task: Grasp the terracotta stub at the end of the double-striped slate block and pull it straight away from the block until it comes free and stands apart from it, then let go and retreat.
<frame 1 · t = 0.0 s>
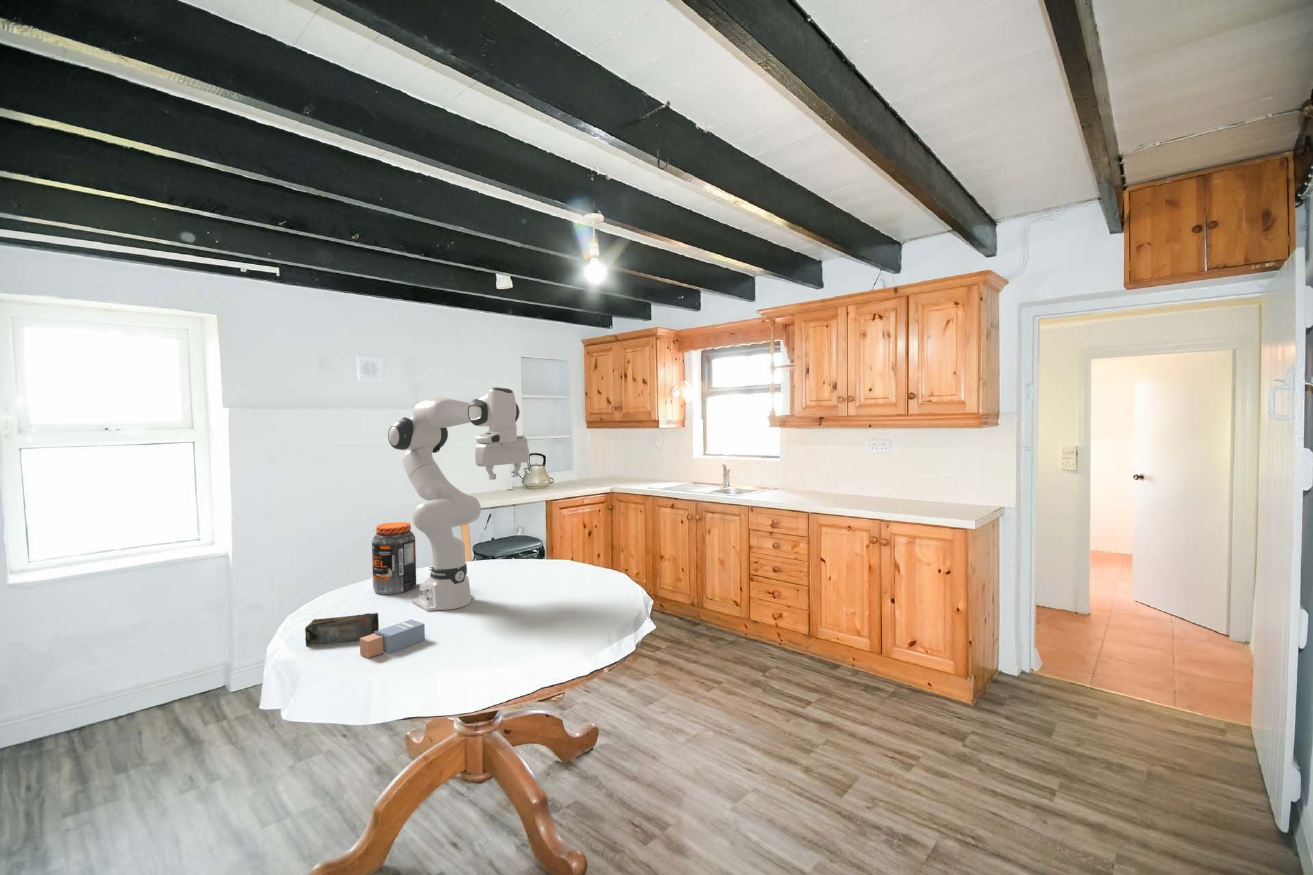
hand: (504, 478, 188), 48 cm above the table, fingers open, 8 cm apart
supplement tub: (395, 589, 226), on the table
beverage carton: (343, 639, 177), on the table
stub: (371, 645, 164), point 3 cm above the table, slide at 0.0 cm
double-striped slate block: (400, 643, 172), on the table
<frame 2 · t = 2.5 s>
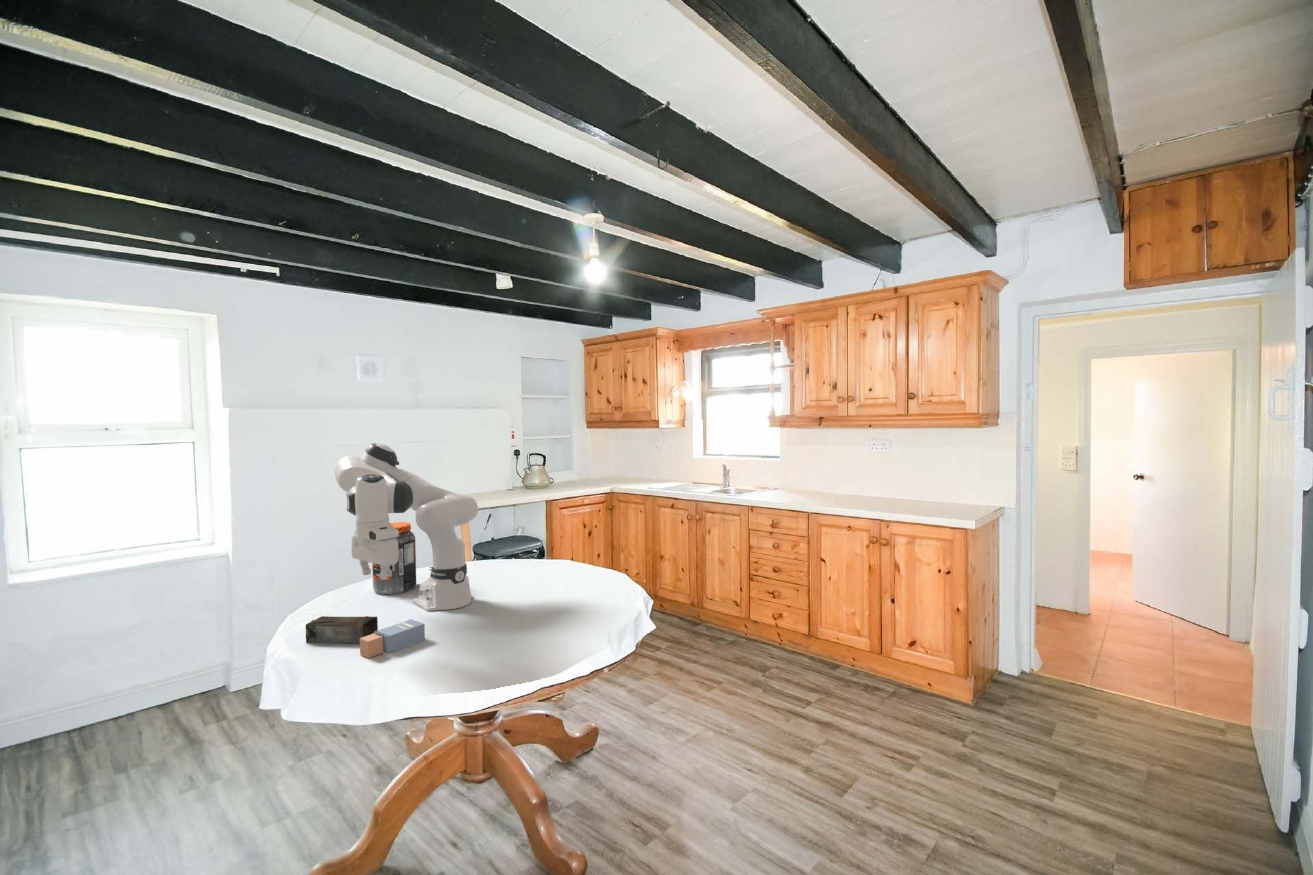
hand: (374, 576, 167), 22 cm above the table, fingers open, 8 cm apart
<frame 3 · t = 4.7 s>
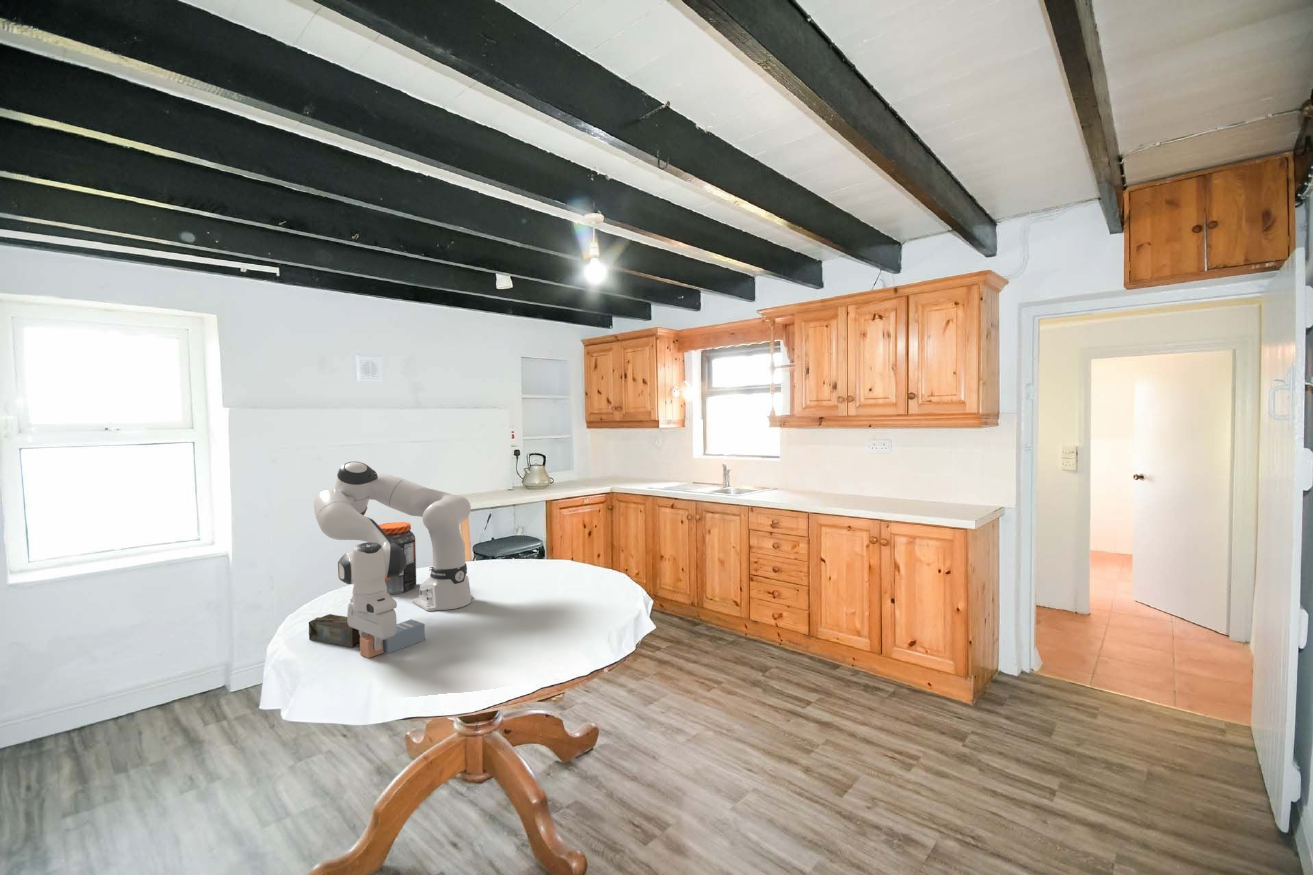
hand: (371, 647, 164), 2 cm above the table, fingers closed on stub, 4 cm apart
stub: (371, 645, 164), point 3 cm above the table, slide at 0.0 cm, touching gripper
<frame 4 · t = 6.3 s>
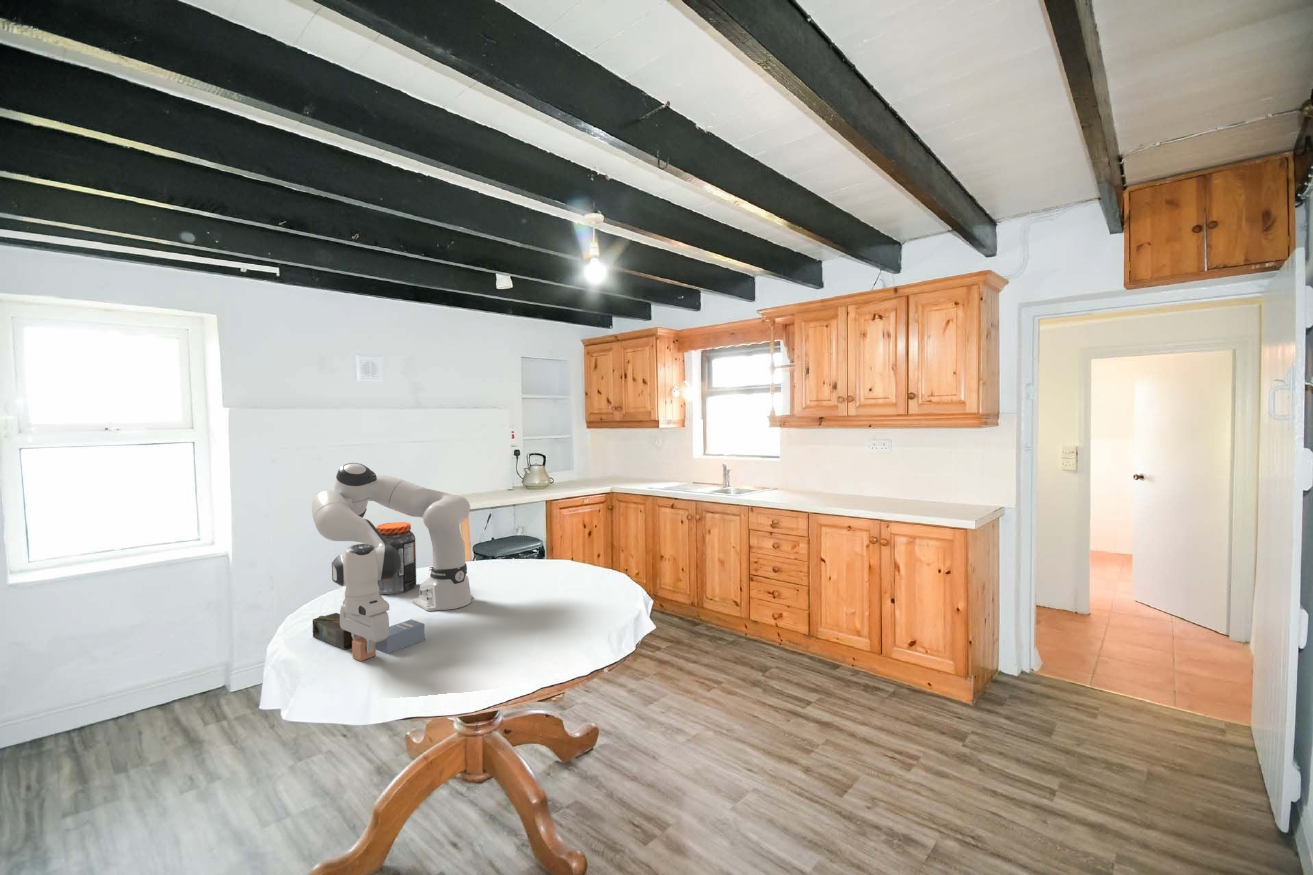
hand: (364, 649, 162), 2 cm above the table, fingers closed on stub, 4 cm apart
stub: (363, 647, 162), point 3 cm above the table, slide at 2.2 cm, touching gripper
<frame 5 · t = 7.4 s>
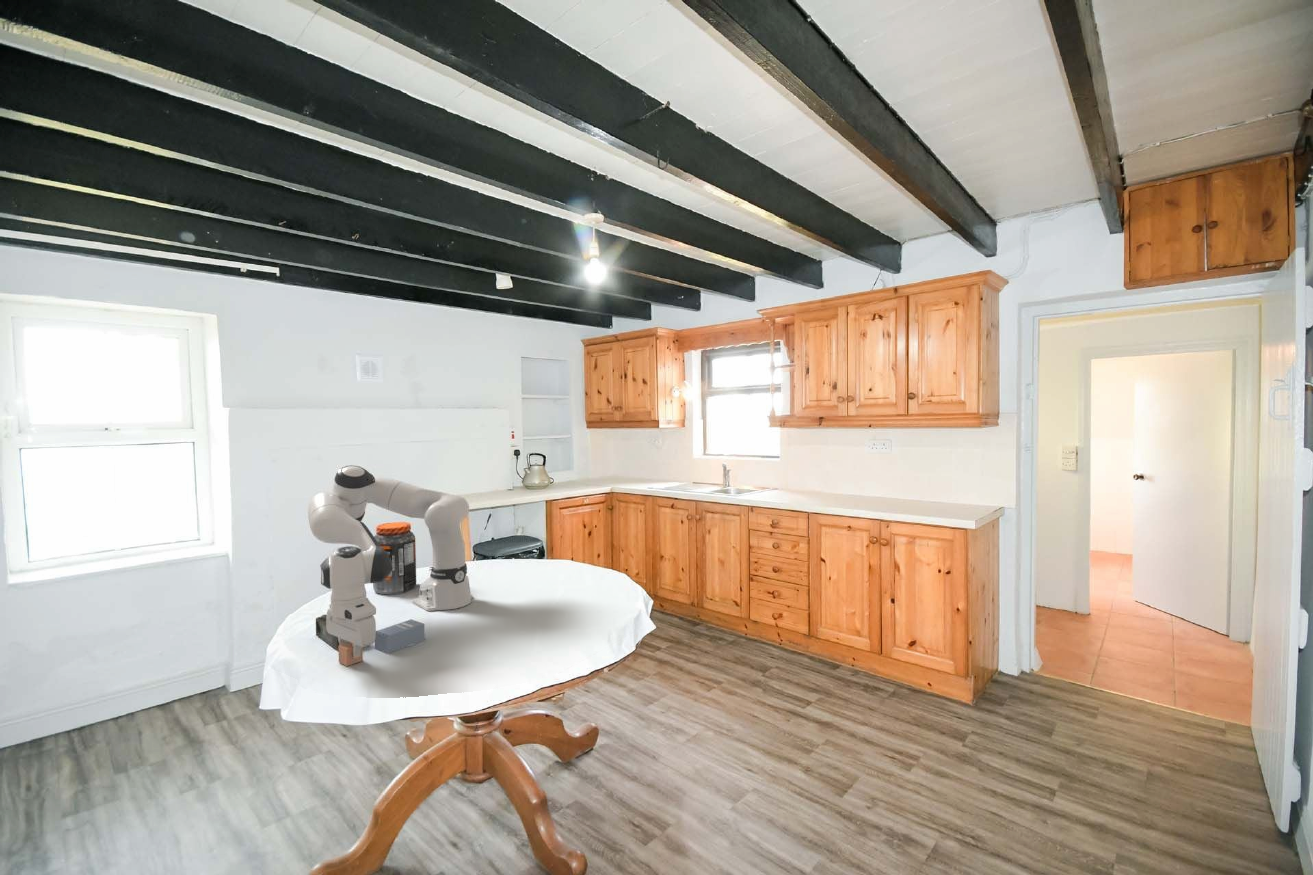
hand: (350, 654, 159), 2 cm above the table, fingers closed on stub, 4 cm apart
stub: (350, 652, 159), point 3 cm above the table, slide at 6.0 cm, touching gripper
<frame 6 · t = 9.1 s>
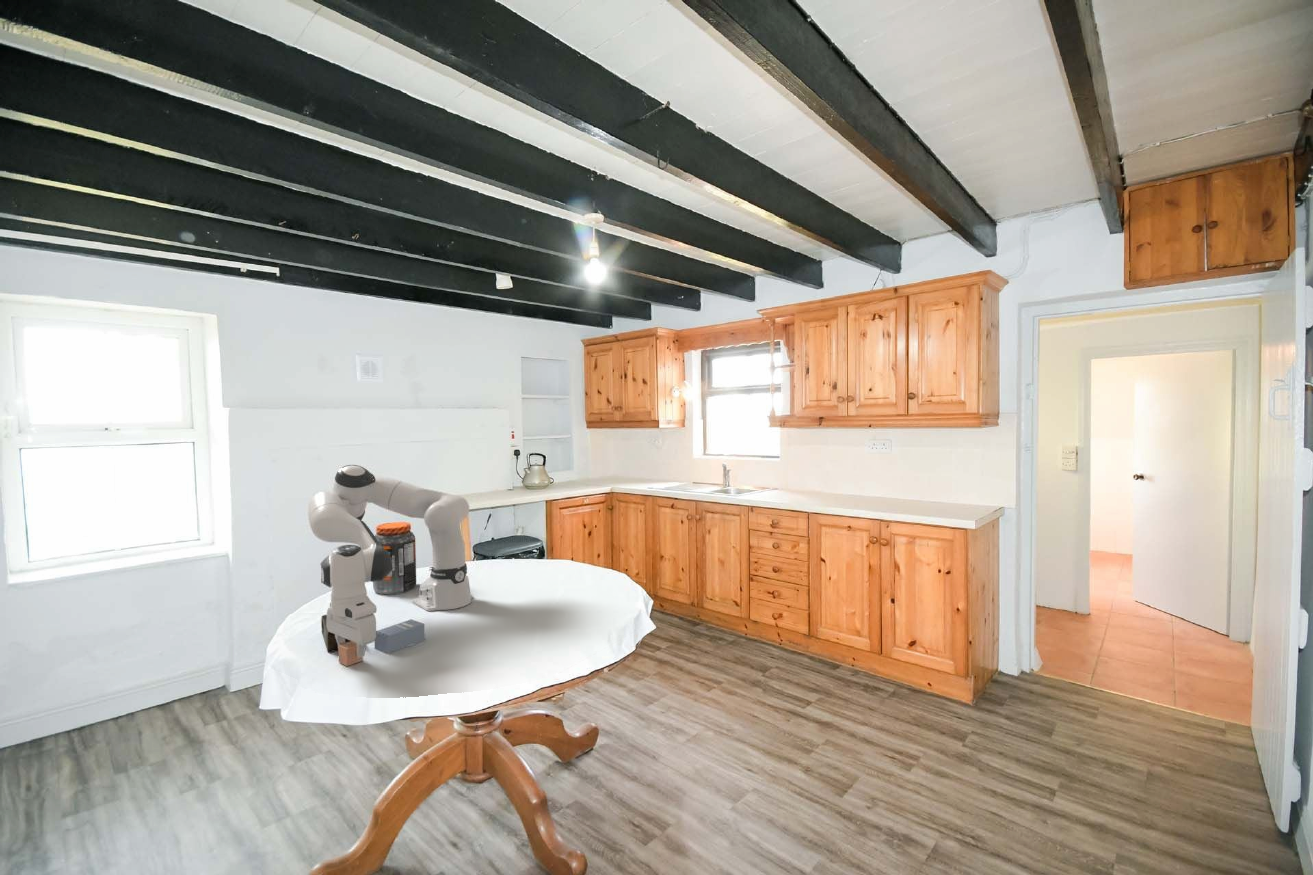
hand: (351, 652, 159), 3 cm above the table, fingers open, 8 cm apart
stub: (350, 652, 159), point 3 cm above the table, slide at 6.0 cm
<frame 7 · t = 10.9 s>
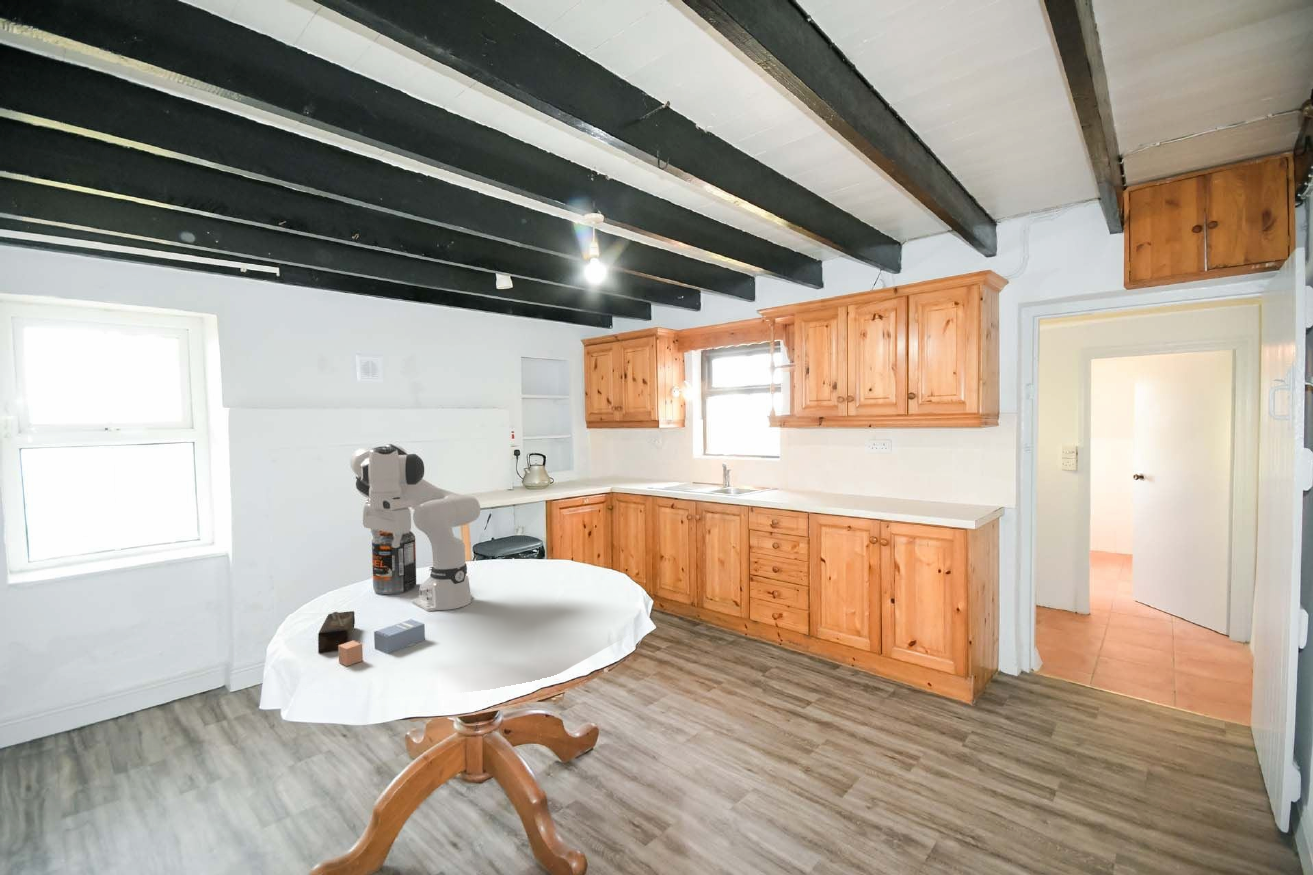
hand: (386, 545, 173), 30 cm above the table, fingers open, 8 cm apart
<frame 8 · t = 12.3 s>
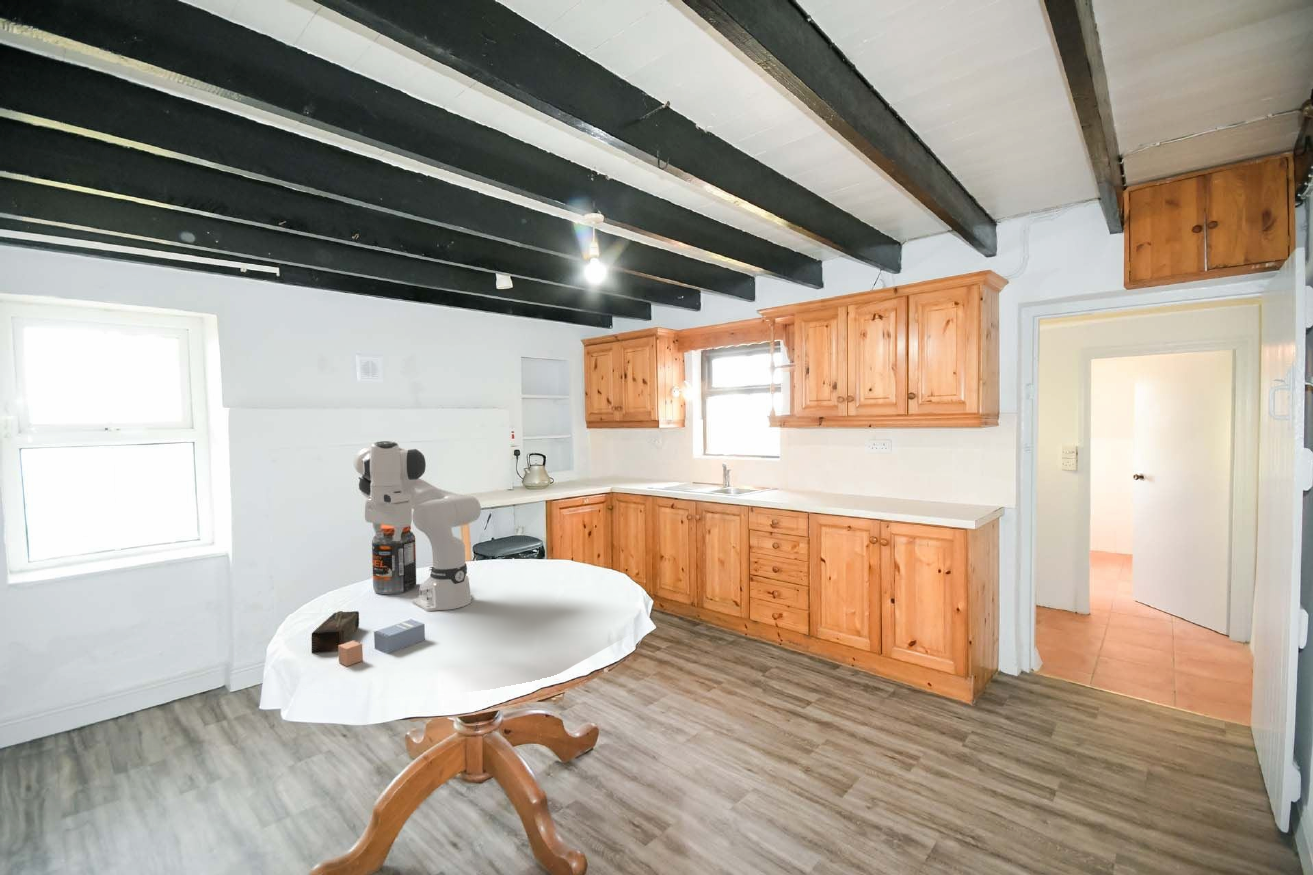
hand: (388, 539, 175), 31 cm above the table, fingers open, 8 cm apart
at the end: stub slide at 6.0 cm; the gripper is holding nothing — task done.
